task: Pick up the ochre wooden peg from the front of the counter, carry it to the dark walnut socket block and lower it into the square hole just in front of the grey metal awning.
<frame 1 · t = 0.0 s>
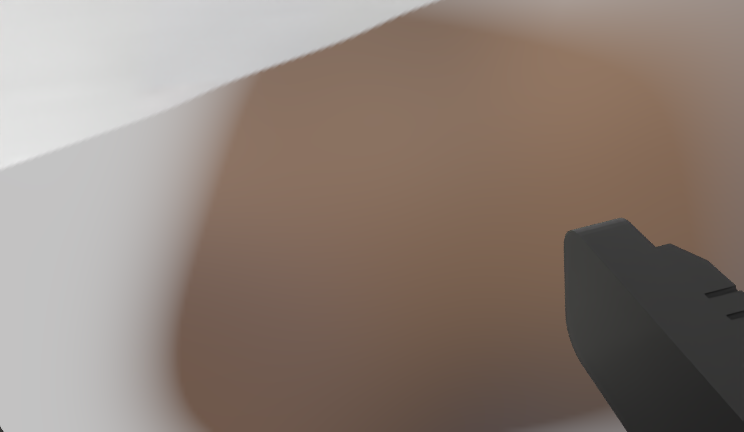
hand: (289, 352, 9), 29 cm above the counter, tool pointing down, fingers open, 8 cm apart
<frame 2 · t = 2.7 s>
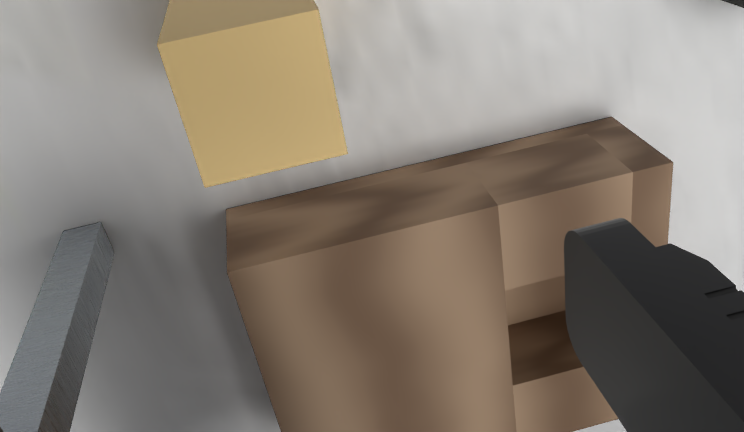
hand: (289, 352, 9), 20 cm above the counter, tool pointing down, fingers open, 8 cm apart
socket block: (440, 285, 34), on the counter
peg: (246, 13, 26), on the counter
awning: (244, 335, 34), on the counter
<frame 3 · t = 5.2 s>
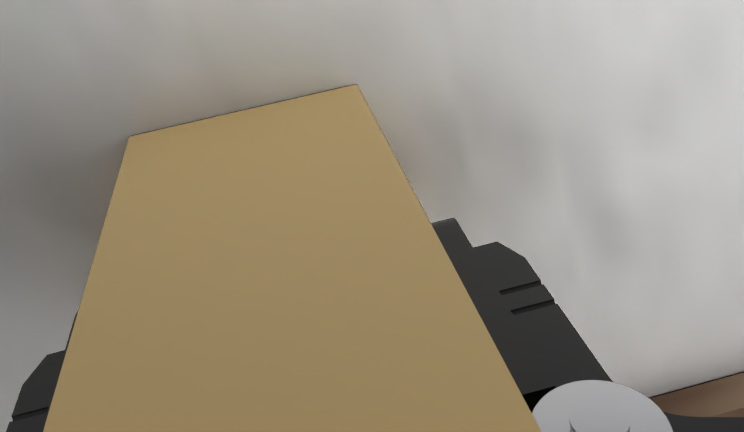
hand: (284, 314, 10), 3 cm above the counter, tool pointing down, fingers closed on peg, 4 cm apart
peg: (272, 208, 13), on the counter, touching gripper
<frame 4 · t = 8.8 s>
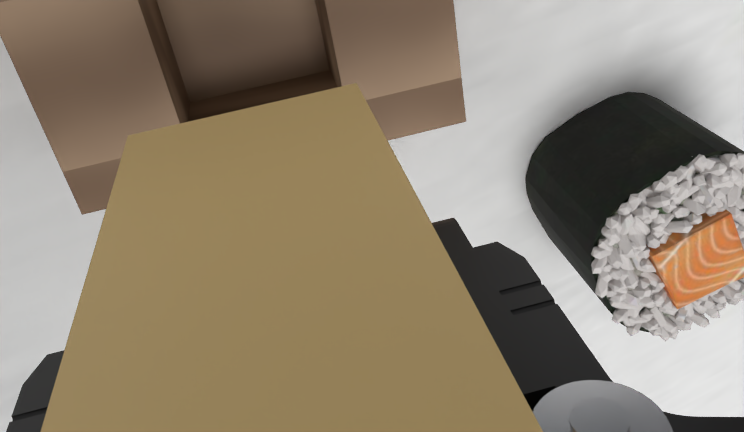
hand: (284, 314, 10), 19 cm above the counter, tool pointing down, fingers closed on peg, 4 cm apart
peg: (271, 207, 13), point 16 cm above the counter, touching gripper
sushi: (601, 174, 34), on the counter
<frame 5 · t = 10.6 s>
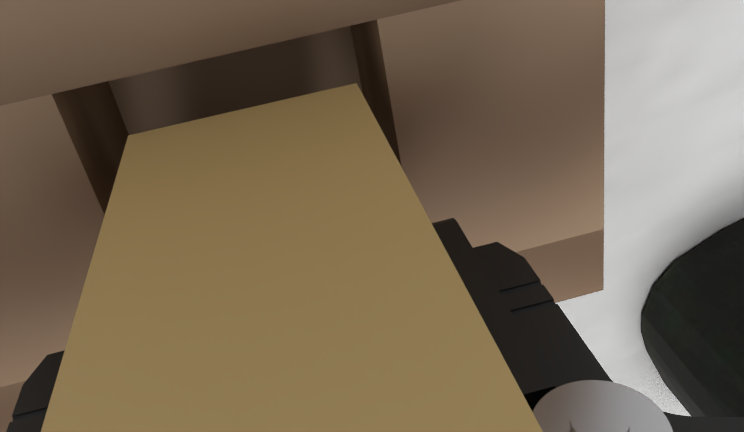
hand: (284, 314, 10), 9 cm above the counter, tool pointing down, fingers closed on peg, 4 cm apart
peg: (271, 207, 13), point 5 cm above the counter, touching gripper
sushi: (740, 302, 25), on the counter
when the fingers open (6 cm above the counter, at t = 12.3 s): peg drops 1 cm, resting on socket block.
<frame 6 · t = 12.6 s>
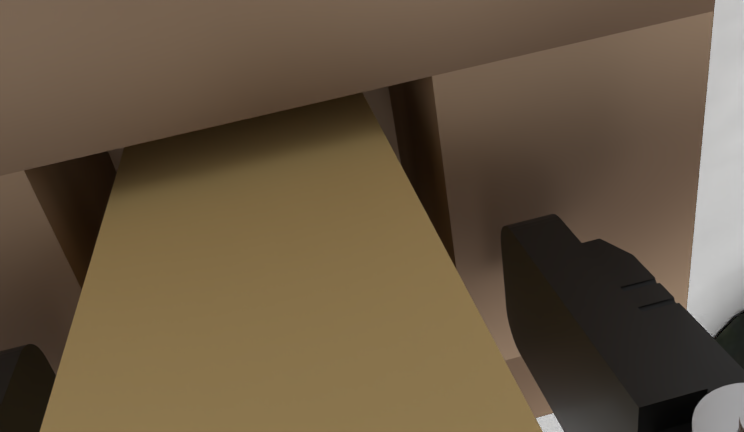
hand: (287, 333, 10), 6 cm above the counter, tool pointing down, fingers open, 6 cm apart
peg: (267, 172, 14), point 1 cm above the counter, touching socket block
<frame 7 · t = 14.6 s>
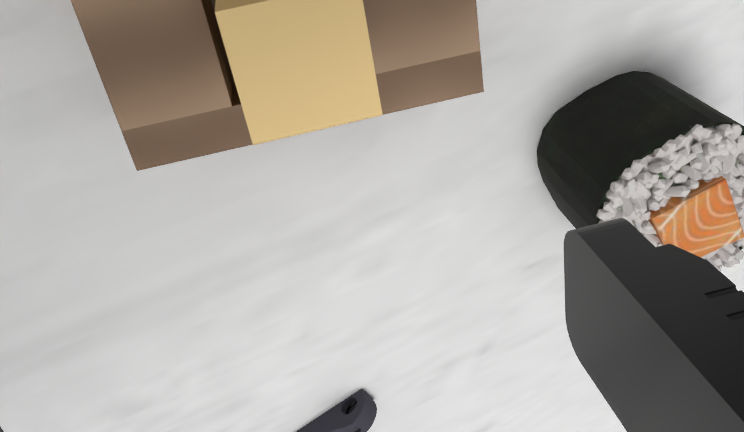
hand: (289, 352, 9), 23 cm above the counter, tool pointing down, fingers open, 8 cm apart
sushi: (608, 148, 36), on the counter
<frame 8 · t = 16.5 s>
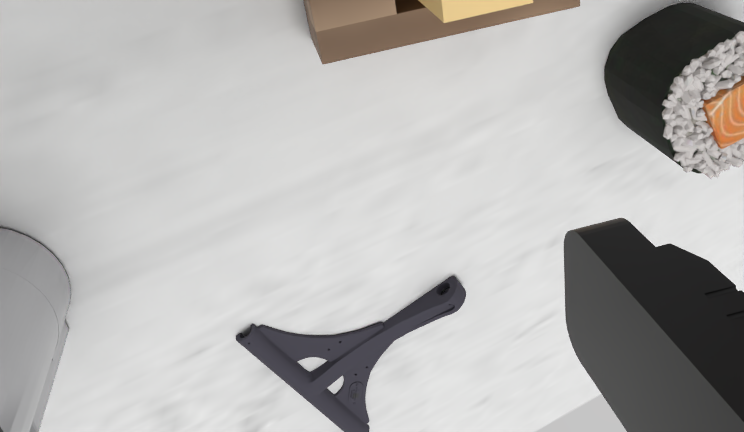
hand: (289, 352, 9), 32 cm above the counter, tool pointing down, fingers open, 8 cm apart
sushi: (659, 68, 45), on the counter
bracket: (374, 330, 52), on the counter
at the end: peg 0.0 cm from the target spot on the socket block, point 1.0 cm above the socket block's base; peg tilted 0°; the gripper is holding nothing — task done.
